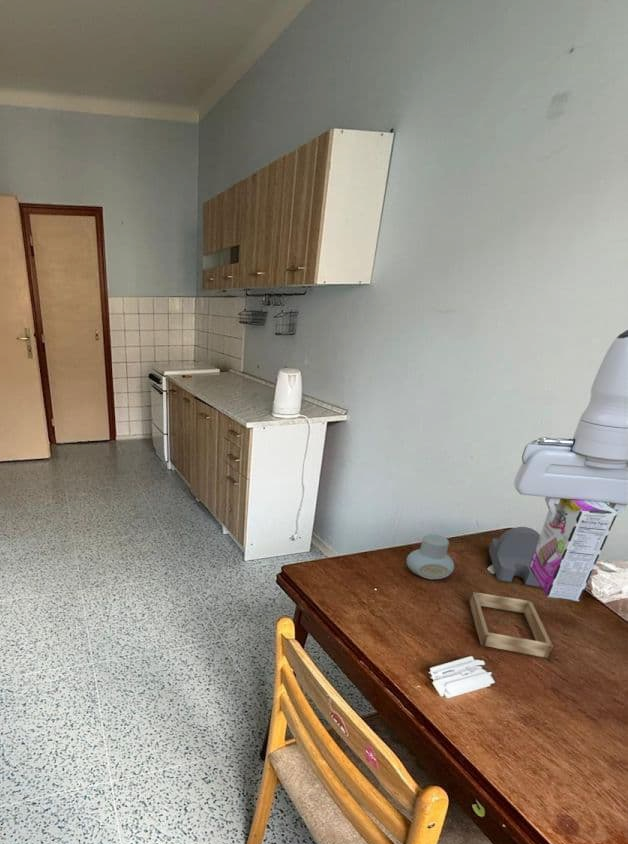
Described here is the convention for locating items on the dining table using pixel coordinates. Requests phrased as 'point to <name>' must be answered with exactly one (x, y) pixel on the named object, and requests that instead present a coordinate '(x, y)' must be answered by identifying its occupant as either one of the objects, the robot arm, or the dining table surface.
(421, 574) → the air freshener
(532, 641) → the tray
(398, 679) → the dining table surface
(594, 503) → the candy bar box
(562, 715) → the dining table surface
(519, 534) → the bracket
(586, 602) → the dining table surface
